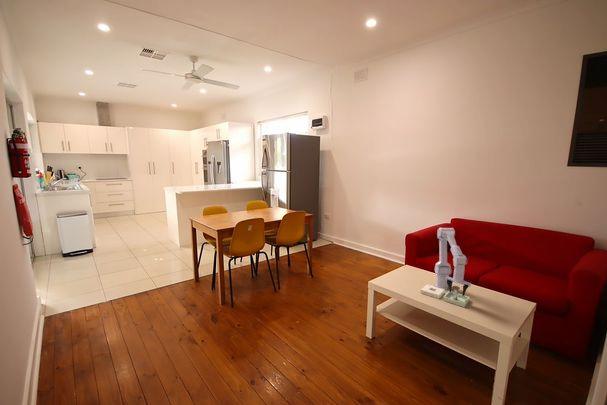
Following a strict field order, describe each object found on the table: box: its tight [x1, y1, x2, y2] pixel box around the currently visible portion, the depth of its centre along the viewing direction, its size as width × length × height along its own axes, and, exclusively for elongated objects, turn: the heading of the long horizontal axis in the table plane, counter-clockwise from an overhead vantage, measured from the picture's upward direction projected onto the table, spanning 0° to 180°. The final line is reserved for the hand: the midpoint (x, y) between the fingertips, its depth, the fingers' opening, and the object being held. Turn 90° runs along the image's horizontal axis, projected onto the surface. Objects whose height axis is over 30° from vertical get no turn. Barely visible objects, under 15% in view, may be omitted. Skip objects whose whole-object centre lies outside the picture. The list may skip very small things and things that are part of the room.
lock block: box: [420, 284, 446, 300], centre depth 191 cm, size 12×12×2 cm
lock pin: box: [452, 285, 460, 301], centre depth 181 cm, size 4×4×9 cm
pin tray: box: [442, 290, 471, 308], centre depth 181 cm, size 13×13×2 cm
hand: (456, 293), depth 180 cm, fingers open, 7 cm apart
